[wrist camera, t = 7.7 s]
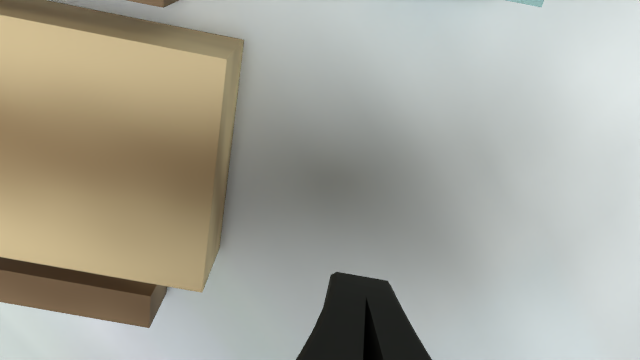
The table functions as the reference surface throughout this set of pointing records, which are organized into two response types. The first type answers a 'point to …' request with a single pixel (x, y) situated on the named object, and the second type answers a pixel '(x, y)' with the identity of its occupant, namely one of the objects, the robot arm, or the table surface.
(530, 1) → the teal block
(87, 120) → the oak slab
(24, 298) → the walnut frame
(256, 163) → the table surface
